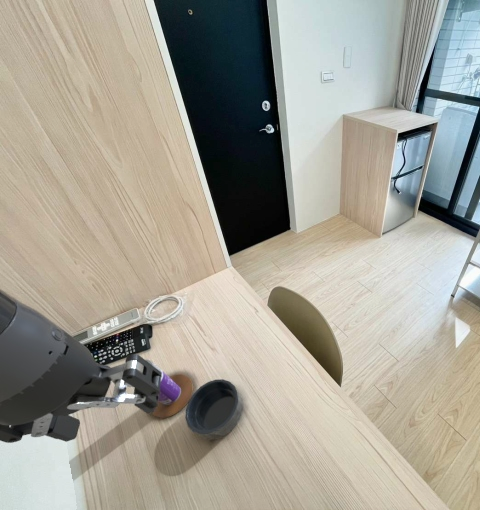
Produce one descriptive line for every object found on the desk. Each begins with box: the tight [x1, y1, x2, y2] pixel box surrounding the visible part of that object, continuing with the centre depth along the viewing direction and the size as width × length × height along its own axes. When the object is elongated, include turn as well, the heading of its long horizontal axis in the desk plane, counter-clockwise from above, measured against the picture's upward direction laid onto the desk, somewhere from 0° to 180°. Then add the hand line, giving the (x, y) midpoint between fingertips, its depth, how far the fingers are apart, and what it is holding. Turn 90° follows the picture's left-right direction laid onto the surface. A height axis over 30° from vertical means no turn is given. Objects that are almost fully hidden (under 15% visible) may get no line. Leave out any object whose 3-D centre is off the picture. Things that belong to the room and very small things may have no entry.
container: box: [145, 359, 181, 405], centre depth 62 cm, size 5×5×15 cm
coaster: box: [151, 373, 194, 419], centre depth 67 cm, size 10×10×1 cm
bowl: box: [184, 378, 244, 441], centre depth 63 cm, size 11×11×6 cm
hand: (115, 417), depth 34 cm, fingers open, 8 cm apart
